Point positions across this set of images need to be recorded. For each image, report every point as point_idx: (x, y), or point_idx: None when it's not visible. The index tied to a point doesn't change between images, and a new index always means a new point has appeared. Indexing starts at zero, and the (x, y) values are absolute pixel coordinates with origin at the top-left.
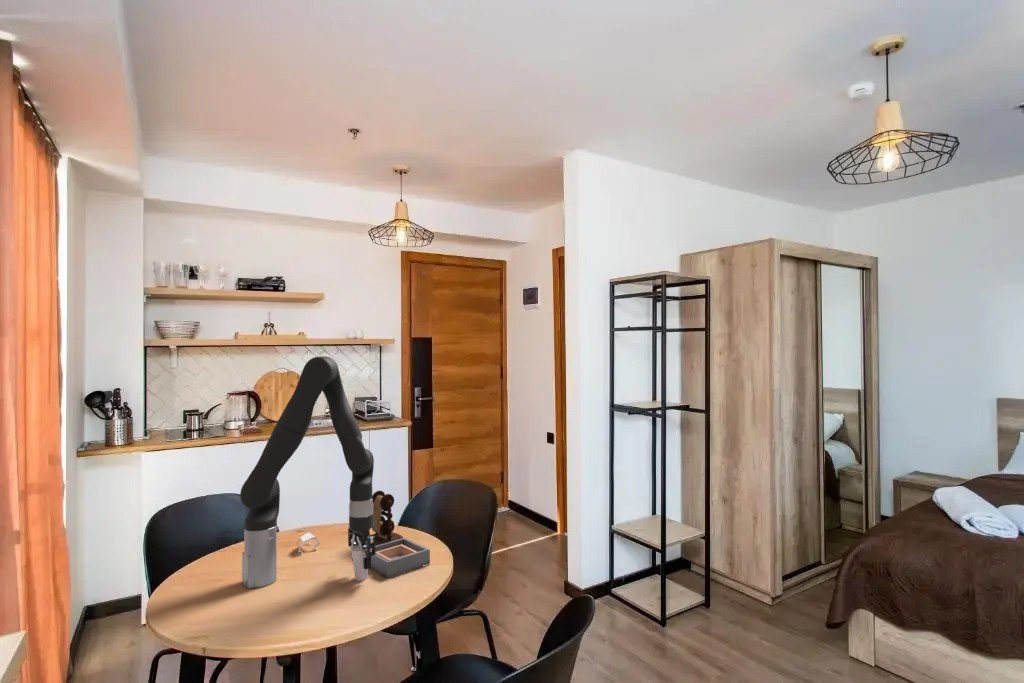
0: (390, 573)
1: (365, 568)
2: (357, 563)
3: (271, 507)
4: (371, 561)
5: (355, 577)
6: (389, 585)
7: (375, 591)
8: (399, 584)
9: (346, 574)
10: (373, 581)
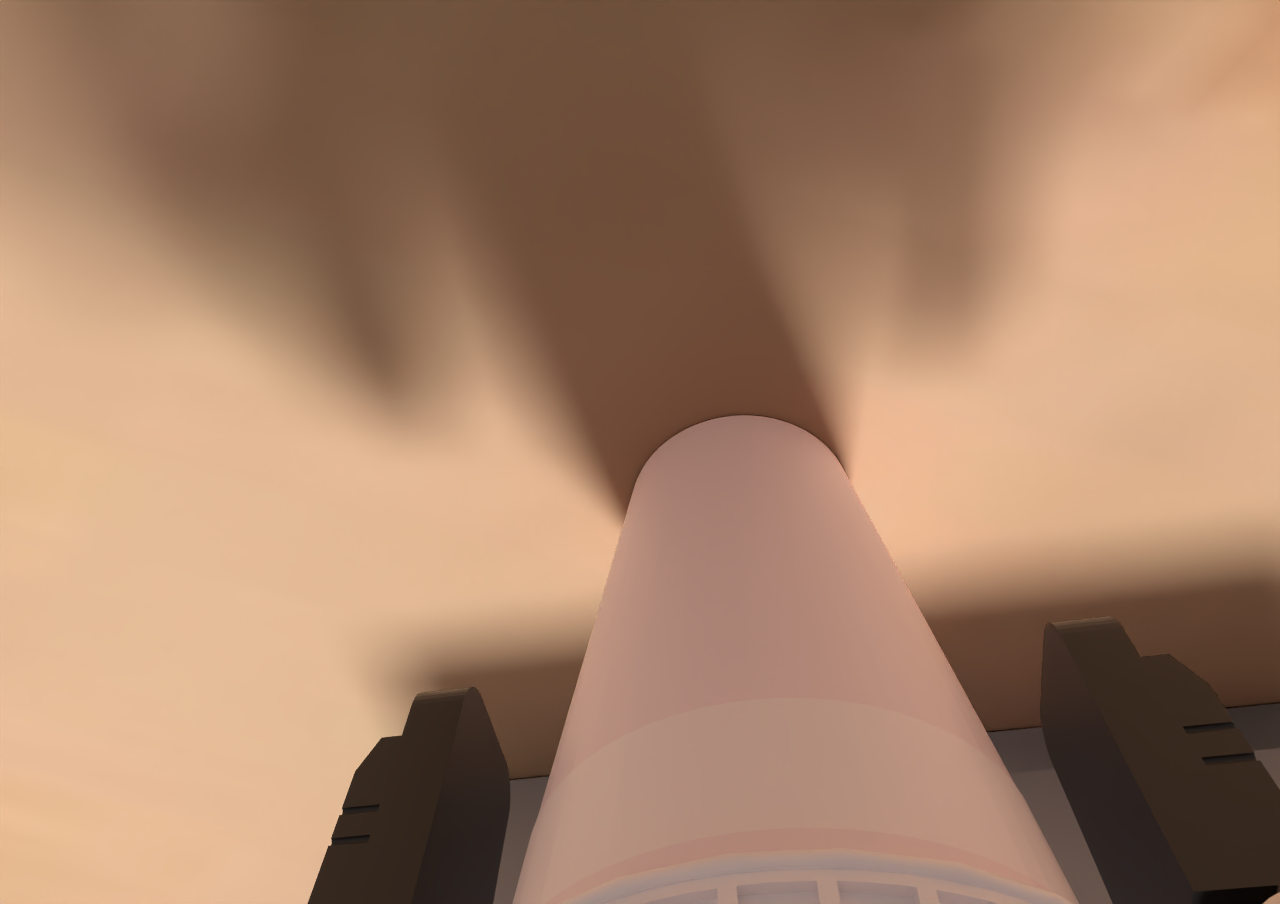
0: None
1: (426, 709)
2: (615, 677)
3: None
4: (1056, 836)
5: (736, 436)
6: (233, 731)
7: (79, 534)
8: (215, 820)
9: (1135, 345)
10: (493, 617)
